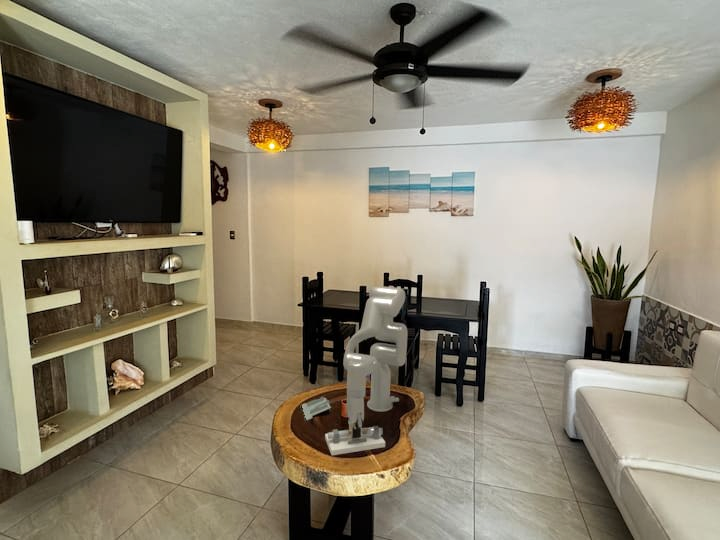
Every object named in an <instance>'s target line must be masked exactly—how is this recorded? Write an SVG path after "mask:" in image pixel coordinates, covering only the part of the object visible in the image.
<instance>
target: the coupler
mask: <svg viewBox="0 0 720 540" xmlns="http://www.w3.org/2000/svg"><path fill="white" fill-rule="evenodd" d="M347 423H348V430H349V434H350V436H351V438H353V428H354V423H352V422H351V421H350V419H349V418H348V421H347ZM356 424H358V423H356Z"/></svg>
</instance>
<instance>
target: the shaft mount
mask: <svg viewBox="0 0 720 540" xmlns="http://www.w3.org/2000/svg"><path fill="white" fill-rule="evenodd" d="M369 428H373V426H371V427H370V426H369ZM324 439H325V441H326V445H327V448H328V450H329V452H330V454H331V456H337V455H343V454H349V453H355V452H363V451H369V450H373V449H374V450H375V449H380V448H381V449H382V448H386V441H385V439H384V438H383V437H382V434H379V439H374V437H373V434H362V428H361V437H359V438H351V436H350V434H349V429H344V430H338V428H336V429H335V428H334V429H332V431H330V432H327V433H325V434H324Z"/></svg>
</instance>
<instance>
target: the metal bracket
mask: <svg viewBox="0 0 720 540" xmlns="http://www.w3.org/2000/svg"><path fill="white" fill-rule="evenodd" d="M301 405H302V408H303V410H302V412H304V413H303V416H304V415H305V416H304V419H305V418H306V420H307V421H309V420H312V419H313V416H316V415H318V414H320V413H322V412H326V411H328V410H329V411H331V409H332V406H330V400H329V399H327V398H326V397H324V396H321V397H320V398H319V399H318V398H317V399H313V400H310V401H309V402H307V403H306V402H305V403H303V404H301ZM306 420H305V421H306Z"/></svg>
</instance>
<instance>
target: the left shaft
mask: <svg viewBox="0 0 720 540" xmlns="http://www.w3.org/2000/svg"><path fill="white" fill-rule="evenodd" d="M372 427H373V428H370V427H361V429H362V434H373V437H374V439H379V434H380V435H383V434H384V433H383V432H384V431H383V427H379V425H373V426H372Z"/></svg>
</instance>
